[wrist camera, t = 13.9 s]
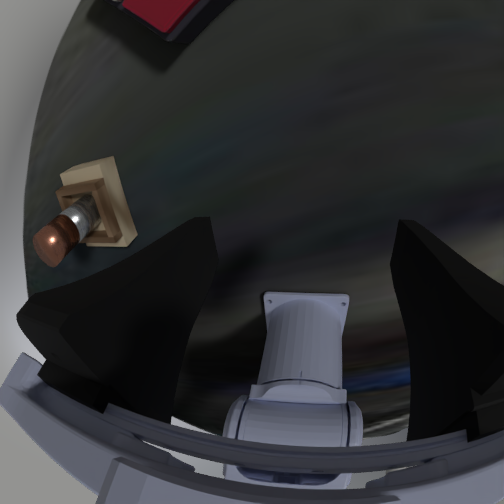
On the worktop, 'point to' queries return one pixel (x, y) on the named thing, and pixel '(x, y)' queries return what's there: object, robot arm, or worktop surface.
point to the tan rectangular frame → (100, 201)
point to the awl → (66, 230)
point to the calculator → (172, 16)
